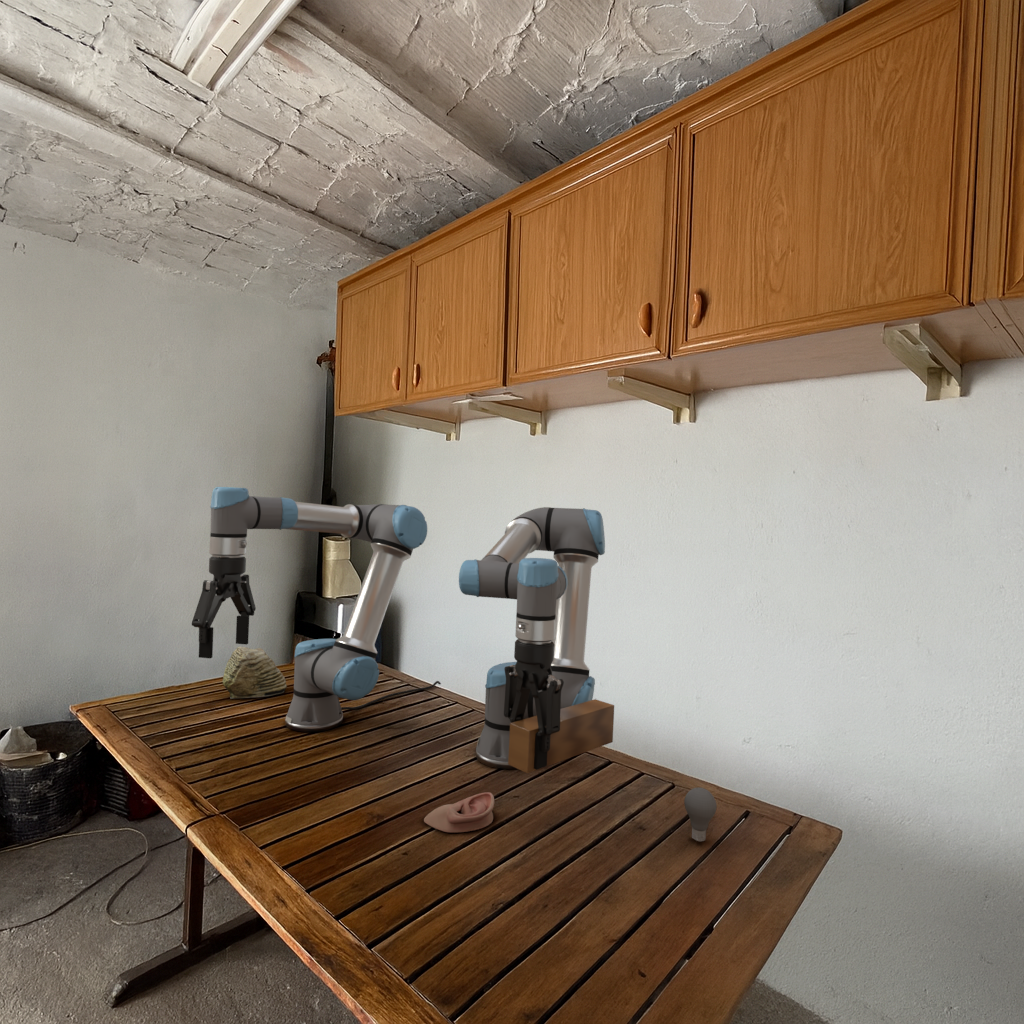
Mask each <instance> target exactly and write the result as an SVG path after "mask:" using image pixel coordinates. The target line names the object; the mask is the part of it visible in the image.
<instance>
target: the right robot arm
mask: <svg viewBox="0 0 1024 1024" xmlns="http://www.w3.org/2000/svg"><path fill="white" fill-rule="evenodd" d="M605 537H606V536H605V525H604V519H603V516H602V513H601V512H600V511H599V510H596V509H587V508H573V507H572V508H571V507H570V508H569V507H568V508H566V507H549V506H543V507H538V508H533V509H531V510H528V511H526V512H523V513H521V514H519V515H518V516H516V517H515V518H513V519H511V521H510V522H509V523H508V524H507V526H506V527H505V530H504V534H503V536H502V537H501V538H500V539H498V541H497V542H496V543H495V544H494V546H492V547H491V549H490V550H489V551H488V552H487V553H486V554H485V555H484V556H483V557H482V559H480V560H479V559H477V558H476V559H466V560H464V561H463V562H462V564H461V565H460V568H459V572H458V587H459V590H460V592H461V593H462V594H463V595H466V596H473V597H476V598H479V597H481V598H494V599H507V600H516V615H515V617H516V618H515V638H516V640H515V641H514V651H513V652H514V654H513V658H514V660H515V661H507V662H502V663H498V664H495V665H493V666H491V667H490V668H489V669H488V671H487V673H486V682H485V685H484V687H485V700H484V701H485V702H484V704H485V705H484V725H483V728H482V731H481V733H480V735H479V737H478V739H477V743H476V748H475V758H476V759H477V761H478V762H480V763H481V764H483V765H484V766H487V767H491V768H495V769H503V770H515V769H517V768H515V767H513V766H511V765H509V764H508V758H509V736H510V723H513V722H516V721H520V720H523V719H527V718H530V717H534V716H537V721H538V728H539V732H536V734H535V755H534V769H536V770H535V771H537V770H541V769H543V767H544V768H546V767H548V766H547V751H549V749H550V737H551V734H552V733H556V732H559V731H560V710H561V709H562V708H566V707H569V706H573V705H577V704H580V703H584V702H587V701H591V700H594V699H593V698H594V694H595V693H594V692H595V685H596V679H595V678H594V677H593V676H592V675H590V670H591V669H590V668H589V666H588V665H587V663H585V655H586V654H585V653H586V644H587V643H586V641H587V629H588V617H589V605H590V593H591V592H590V591H591V582H592V581H591V580H592V579H591V578H592V569H593V566H596V564H597V563H598V562H599V556H603V555H605V553H606V539H605ZM535 551H541V552H544V551H545V552H553V557H552V559H551V558H546V557H545V558H543V557H527V556H528V555H529V554H532V553H533V552H535ZM545 726H546V727H545ZM540 768H541V769H540ZM517 770H518V769H517Z"/></svg>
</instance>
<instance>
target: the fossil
mask: <svg viewBox="0 0 1024 1024" xmlns="http://www.w3.org/2000/svg"><path fill="white" fill-rule="evenodd" d="M222 676H223V677H222V685H223V687H224V688H225V690H226V691H228V693H229V698H230V699H250V698H264V697H271V696H275V695H281V694H284V693H285V691H286V689H287V687H288V686H287V680H286V678H285V676H284V674H283V673H282V672H281V669H279V668H278V667H277V665H276V663H275V662H274V660H273V659H272V658H271V657H270V656H269V655H268V654H267V653H266V652H265V650H264V649H263V648H260V647H258V648H251V647H247V646H246V647H245V646H238V647H237V648H236V649H235V650H233V651H232V653H231V656H230V657H229V659H228V660H227V663H226V666H225V668H224V671H223V675H222Z"/></svg>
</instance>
